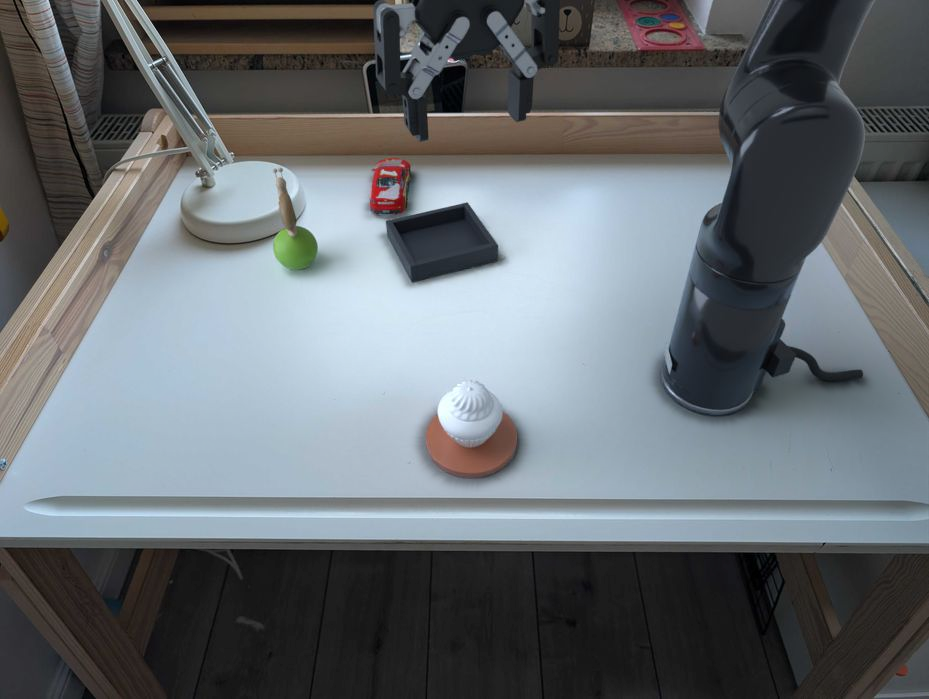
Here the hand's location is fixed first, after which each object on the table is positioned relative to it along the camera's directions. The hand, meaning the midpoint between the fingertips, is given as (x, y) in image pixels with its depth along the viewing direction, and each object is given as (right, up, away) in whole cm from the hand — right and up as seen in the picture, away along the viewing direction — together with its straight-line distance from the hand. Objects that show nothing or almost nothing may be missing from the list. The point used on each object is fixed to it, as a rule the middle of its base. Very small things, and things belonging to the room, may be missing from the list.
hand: (469, 127), depth 59 cm
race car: (-11, +4, +44) cm, 46 cm away
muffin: (0, -27, +12) cm, 29 cm away
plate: (0, -27, +12) cm, 30 cm away
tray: (-3, -5, +35) cm, 35 cm away
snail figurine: (-22, -7, +33) cm, 40 cm away
